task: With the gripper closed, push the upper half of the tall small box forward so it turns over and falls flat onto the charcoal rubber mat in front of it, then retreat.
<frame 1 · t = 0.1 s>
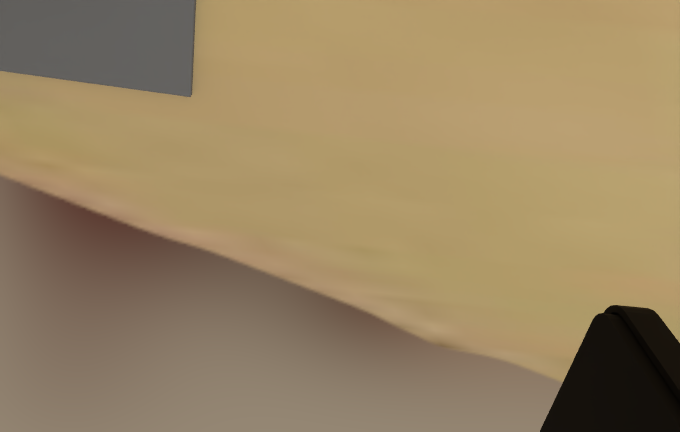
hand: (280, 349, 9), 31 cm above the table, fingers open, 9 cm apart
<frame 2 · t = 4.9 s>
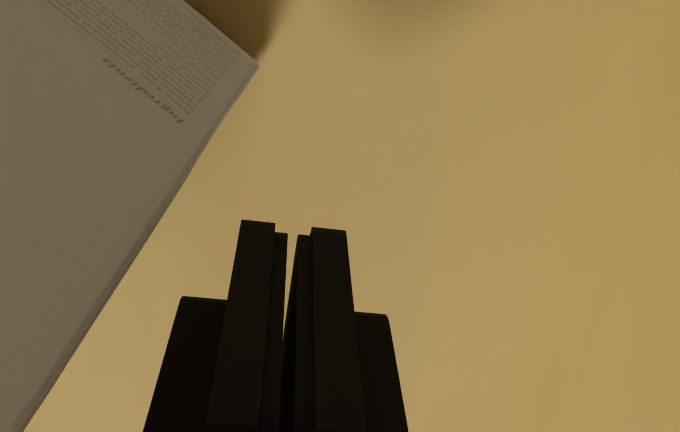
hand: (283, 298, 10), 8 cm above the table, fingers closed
small box: (85, 94, 17), on the table
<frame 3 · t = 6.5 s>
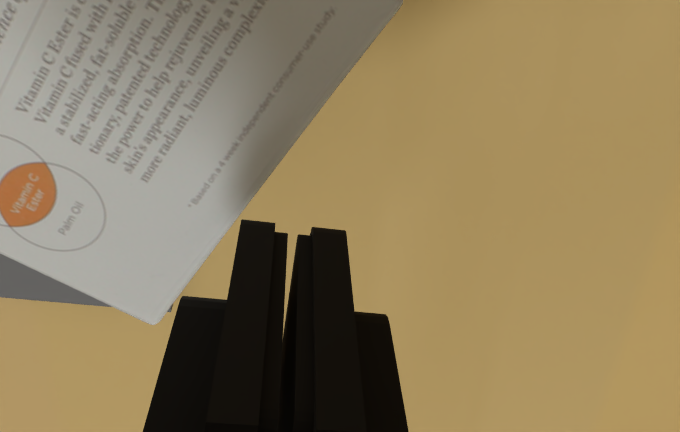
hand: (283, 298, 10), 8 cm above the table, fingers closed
small box: (281, 128, 13), point 4 cm above the table, touching mat
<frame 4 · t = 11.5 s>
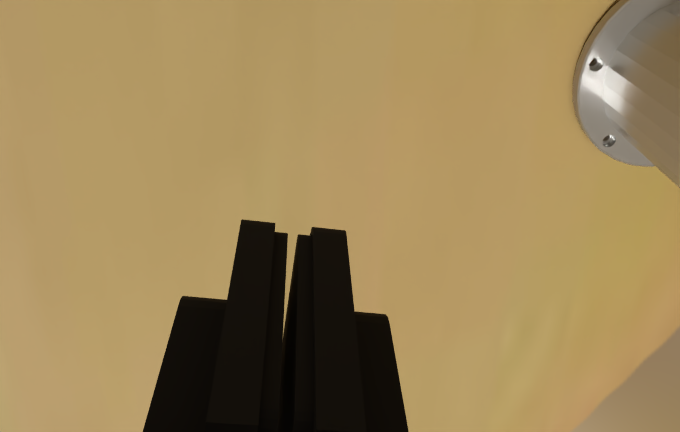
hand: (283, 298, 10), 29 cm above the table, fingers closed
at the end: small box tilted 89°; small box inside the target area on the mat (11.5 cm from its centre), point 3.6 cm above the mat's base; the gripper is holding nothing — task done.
